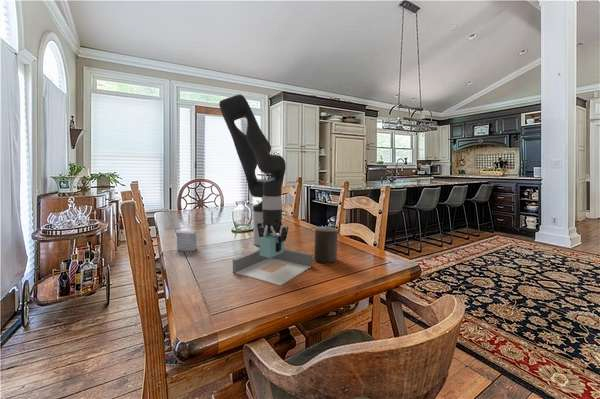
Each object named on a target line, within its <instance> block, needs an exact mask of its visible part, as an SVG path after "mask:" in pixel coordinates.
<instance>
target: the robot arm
mask: <svg viewBox="0 0 600 399" xmlns="http://www.w3.org/2000/svg"><path fill="white" fill-rule="evenodd" d="M218 104H219V109H220V113H221V115H222V118H223V119H224V122H225V124H226V126H227V130H228V131H229V133H230V136H231V138H232V141H233V143H234V144H233V145H234V148H235V149H236V154H237V156H238V158H239V161H240V163H241V167H242V169H243V173H244V175H245V179H246V183H247V186H248V190H249V193H250V195H251V196H252V197H253V198H262V201H261V202H259V203H256V204H253V206H252V217H253V222H252V225H253V229H252V230H253V236H252V238H253V245H255V246H259V247H260V237H263V236H267V235H270V234H273V236H274V237H275V238H276V252H280V250H281V242H283V241H284V242H285V241H287V236H288V232H289V226H287V225H283V223H282V219H283V198H282V197H283V196H282V184H283V182H284V181H283V180H284V179H285V178H284V177H285V174H286V167H287V165H286V161H285V158H284V157H283V156H281V155H278V154H276V155H275V154H270V152H271V151H272V146H271V144H270V142H269V140H268V139H267V138H266V136H265V134H264V133H263V131H262V129H261V128H260V125H259V124H258V122H257V119H256V117H255V115H254V112H253V110H252V108H251V106H250V104H249V102H248V100H247V99H246V97H245V96H244V95H243V94H241V93H238V94H234V95H231V96H228V97H226V98H223V99H221V100H220V101H219V102H218ZM242 118H245V119H246V134H245V133H244V132H242V130H241V129H239V128H238V127H237V124H236V123H235V121H237V120H240V119H242ZM257 167H258V169H259V171H260V172H262V173H263V174H265V175H267V174H269V175H270V177H269V179H263V178H259V179H258V178H257V175H256V169H257ZM277 233H278V234H277ZM278 237H279V239H278Z"/></svg>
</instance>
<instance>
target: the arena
mask: <svg viewBox="0 0 600 399" xmlns="http://www.w3.org/2000/svg"><path fill="white" fill-rule="evenodd" d="M313 255H314V253H313V254H312V253H307V252H303V251H298V250H292V249H288V248H284V252H283V253H280V254H278V255H276V256H273V257H271V258H268V257H264V256H260V248H259V249H257V250H254V251H251V252H249V253H246V254H244V255H241V256H239V257H238V256H237V257H235V258H233V259H232V273H234V274H238V275H241V276H245V277H248V278H251V279H256V280H259V281H261V282H266V283H268V284H269V283H270V284H272V285H277V286H280V287H281V286H282V285H284V284H286V283H288V282H290V281H291V280H292V279H294V278H295V277H298V276H299V275H301V274H302V273H304V272H305V270H306V271H307V270H309V269H310V268H312V267H313V260H314V256H313ZM311 266H312V267H311ZM308 268H309V269H308Z"/></svg>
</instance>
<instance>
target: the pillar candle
mask: <svg viewBox="0 0 600 399" xmlns="http://www.w3.org/2000/svg"><path fill="white" fill-rule="evenodd" d="M338 235H339V230H338V228H336V227H331V226H317V227H315V228H314V253H313V255H314V256H313V260H314V261H315V260H316V261H318V262H317V263H319V262H321V264H324V263H329V264H332V263H331V262H335V261H336V260H337V261H338ZM316 261H315V262H316ZM337 261H336V262H337ZM336 262H335V263H336Z"/></svg>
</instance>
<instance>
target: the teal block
mask: <svg viewBox="0 0 600 399" xmlns="http://www.w3.org/2000/svg"><path fill="white" fill-rule="evenodd" d="M277 234H278V233H277ZM278 239H279V237H278ZM259 249H260V256H264V257H268V258H271V257H273V256H276V255H278V254H280V253H283V252H284V249H285V241H283V242H281V250H280V252H276V238H275V237H274V236H273V234H270V235H267V236H263V237H260V246H259Z"/></svg>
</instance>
